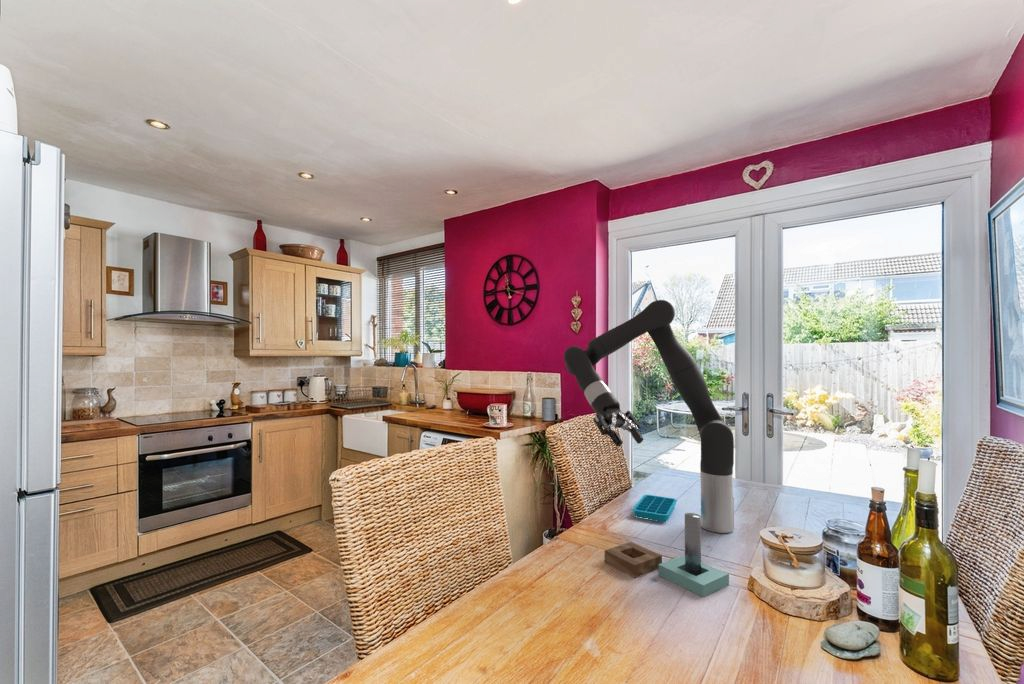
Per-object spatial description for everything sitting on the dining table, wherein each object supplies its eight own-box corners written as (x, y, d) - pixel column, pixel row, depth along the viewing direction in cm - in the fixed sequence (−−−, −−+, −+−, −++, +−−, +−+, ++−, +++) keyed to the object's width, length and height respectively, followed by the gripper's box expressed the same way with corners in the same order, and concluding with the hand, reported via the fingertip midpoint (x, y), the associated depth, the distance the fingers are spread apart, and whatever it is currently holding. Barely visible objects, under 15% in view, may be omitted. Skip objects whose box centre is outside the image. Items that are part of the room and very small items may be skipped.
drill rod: (691, 574, 108) (690, 512, 109) (704, 580, 105) (704, 516, 106) (681, 578, 106) (681, 514, 107) (695, 584, 103) (694, 519, 104)
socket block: (631, 553, 120) (631, 541, 120) (662, 567, 112) (662, 555, 112) (604, 562, 114) (604, 550, 115) (635, 577, 106) (635, 565, 106)
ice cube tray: (631, 519, 147) (631, 509, 147) (644, 502, 165) (644, 494, 165) (668, 525, 142) (668, 515, 142) (677, 507, 159) (677, 498, 160)
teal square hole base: (683, 564, 113) (683, 554, 114) (729, 584, 103) (728, 573, 104) (658, 574, 108) (658, 564, 108) (703, 596, 98) (703, 585, 98)
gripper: (611, 406, 141) (640, 448, 131) (577, 408, 133) (605, 454, 123) (624, 390, 137) (655, 433, 127) (590, 391, 129) (620, 437, 119)
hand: (630, 443), depth 125 cm, fingers open, 8 cm apart
